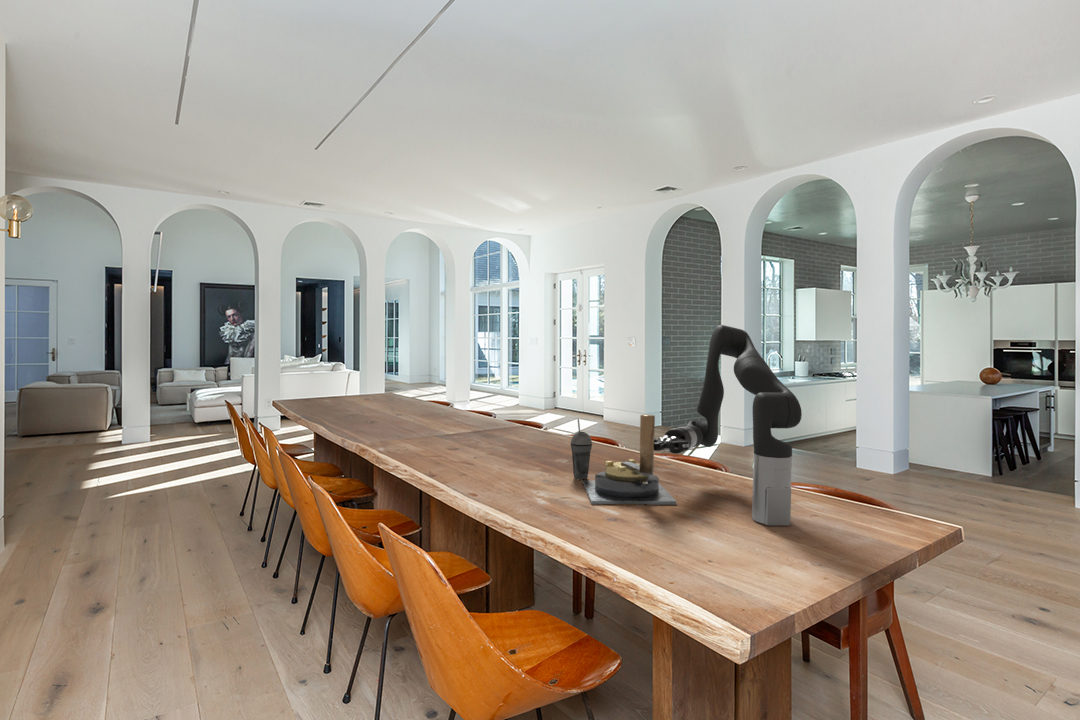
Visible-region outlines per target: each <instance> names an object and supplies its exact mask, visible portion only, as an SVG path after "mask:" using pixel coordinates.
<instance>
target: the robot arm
mask: <svg viewBox="0 0 1080 720" xmlns="http://www.w3.org/2000/svg"><path fill="white" fill-rule="evenodd" d="M707 352H708V353H707V358H706V359H707V360H706V368H705V374H704V381H703V386H702V389H701V394H700V396H699V400H698V404H697V407H696V413H698V414H699V415H700V416H701V417H704V419H705V420H706V423H705V422H702V421H700V420H696V419H692V420H691V419H690V421H688V422H687V424H686V425H685V426H678V427H675V428H671V429H668V430H667V431H666V432H665V433H664V434H663V436H659V437H658V438H656V437H654V452H660V451H668V452H669V453H671V454H677V455H679V454H681V453H684V452H686V451H690V450H691V449H693V448H696V447H698V446H699V445H702V446H703V447H707V448H710V447H713V446H714V445H715V444H716V442H717V440H718V438H719V414H720V411H721V407H722V403H723V401H724V398H725V397H724V395H725V388H724V384H723V381H722V377H721V373H720V368H719V367H720V365H719V362H720V358H721V355H724V356H727V357H730V358H735V359H736V360H735V361H734V365H733V373H734V376H735V378H736V379H737V381H738V383H739V384H740V385H741V387H742V388H744V389H745V391H747V392H749V393H751V394H752V395H754V398H753V400H752V442H753V464H752V465H753V466H752V468H753V469H752V471H753V472H752V495H751V496H752V499H751V501H752V504H751V505H752V507H751V508H752V509H751V518H752V520H753V521H755V522H757V523H760V524H763V525H766V526H782V527H783V526H791V512H792V511H791V510H792V470H793V469H792V468H793V446H792V445H791V444H790V443H788V442H786V441H783V440H780V439H778V438H776V437H775V436H773V434H772V430H771V429H791V428H795V427H797V426H798V425H799V424H800V423H801V420H802V415H803V414H802V407H801V404H800V402H799V400H798V397H797V396H796V395H795V394H794V393H793V392H792V391H791V390H790V389H789V388H788V387H787V386H786V385H785V384H784V383H782V382H781V380H779V378H778V377H777V376H776V374H775V373H774V372H773V370H772V369H771V368H770V366H769V364H768V363H767V362H766V361H765V359H764V358H763V357H762V356H761V355H760V353H759V352H758V350H757V349H756V347H755V344H754V343H753V341H752V338H751V336H750V335H749V333H748V332H747V331H745V330H744V329H740V328H737V327H734V326H729V325H725V324H720V325H717V326H716V327H715V328H714V330H713V331H712V334H711V337H710V339H709V346H708V351H707Z"/></svg>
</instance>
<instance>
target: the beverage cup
mask: <svg viewBox="0 0 1080 720" xmlns="http://www.w3.org/2000/svg"><path fill="white" fill-rule="evenodd" d="M577 427H578V431H577V432H575V433H574V434H573V436H572V437H571V440H570V448H571V453H572V454H571V455H572V456H571V457H572V470H573V471H572V472H573V479H574V478H575V479H574V480H577V479H580V480H579V481H582V480H581V479H586V480H588V479H587V478H588V477H589V471H590V470H589V469H590V459H591V450H592V446H593V441H592V437H591V435H590V434H588V432H585V431H581V426H580V419H579V418H577Z"/></svg>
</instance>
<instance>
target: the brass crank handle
mask: <svg viewBox="0 0 1080 720" xmlns="http://www.w3.org/2000/svg"><path fill="white" fill-rule="evenodd" d="M639 419H640V421H639V462H637V460H636V459H634V458H629V459H627V461H617V462H615V461H613V460H605V462H604V463H605V465H604V466H605V470H604V471H605V476H606V477H607V478H609V479H612V480H617V481H627V482H636V481H644V480H647V479H648V478H649V475H654V470H655V469H654V467H655V451H654V438H655V428H656V427H655V424H656V423H655V422H656V420H655V419H656V415H653V414H640V417H639Z"/></svg>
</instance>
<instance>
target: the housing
mask: <svg viewBox="0 0 1080 720" xmlns="http://www.w3.org/2000/svg"><path fill="white" fill-rule="evenodd" d="M583 484H584V485H583ZM582 485H583V487H584V490H585V489H586V490H585V492H586V494H588V495H587V497H588V499H590V500H589V501H590V504H591V505H603V504H636V505H637V506H638V505H639V506H645V505H644V504H647V505H646V506H677V500H676V499H675V498H674V497H673V496H672V495H671V494H670V493H669V492H668V491H667V490H666V488H665V487H664V486H663V485H662V484H660V478H659V477H658V475H656V474H653V475H649V478H648V479H647V480H644V481H636V482H627V481H617V480H612V479H609V478H607V477H606V476H605V470H603V471H600V472H598V473H596V474H595V476H594V479H593V480H591V479H590V480H588V479H586V480H582ZM636 505H635V506H636Z"/></svg>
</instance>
